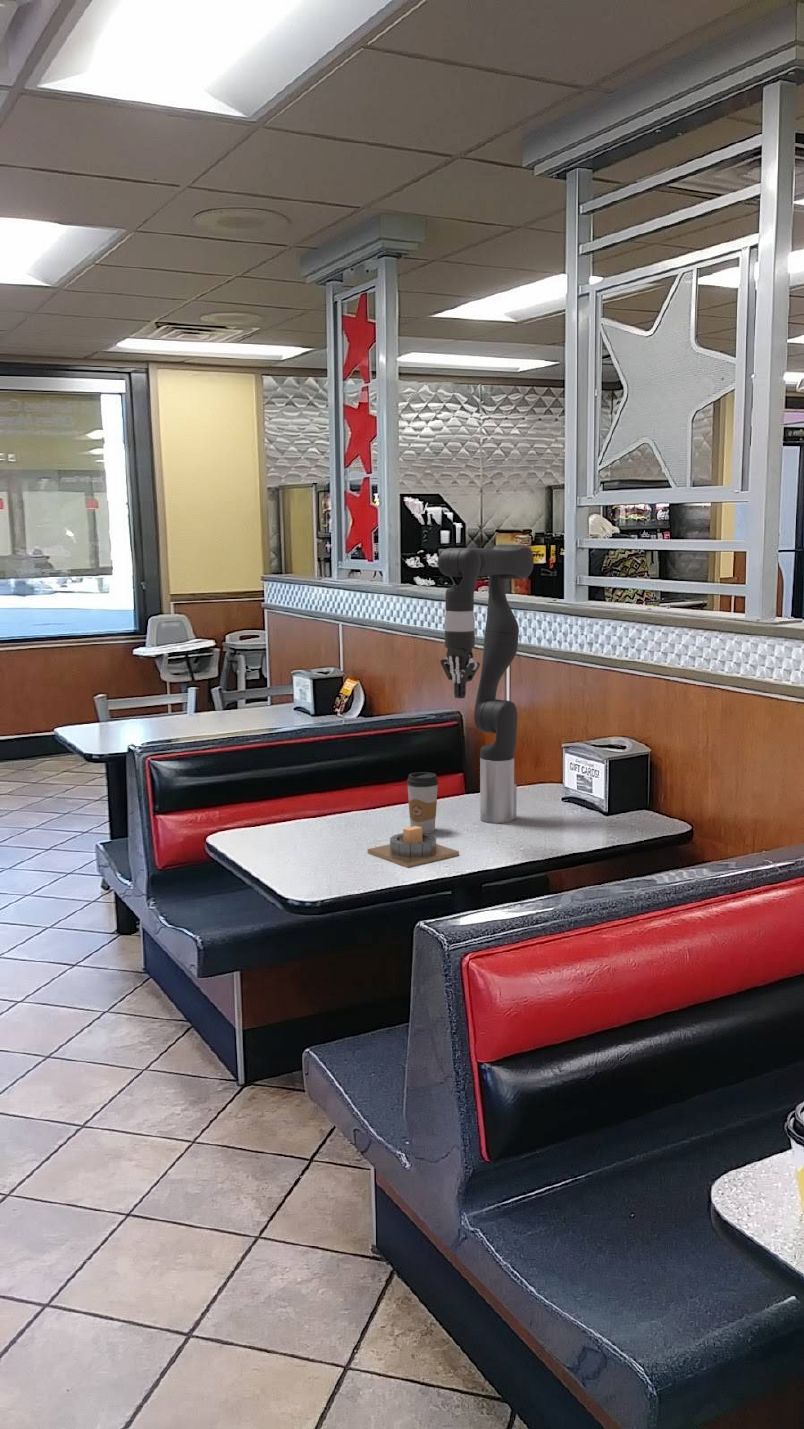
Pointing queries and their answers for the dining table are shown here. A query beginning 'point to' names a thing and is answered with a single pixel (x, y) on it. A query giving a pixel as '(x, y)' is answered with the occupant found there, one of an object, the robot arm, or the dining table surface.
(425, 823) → the coffee cup
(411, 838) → the cap
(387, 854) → the board with grey ring
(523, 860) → the dining table surface
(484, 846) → the dining table surface
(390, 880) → the dining table surface
